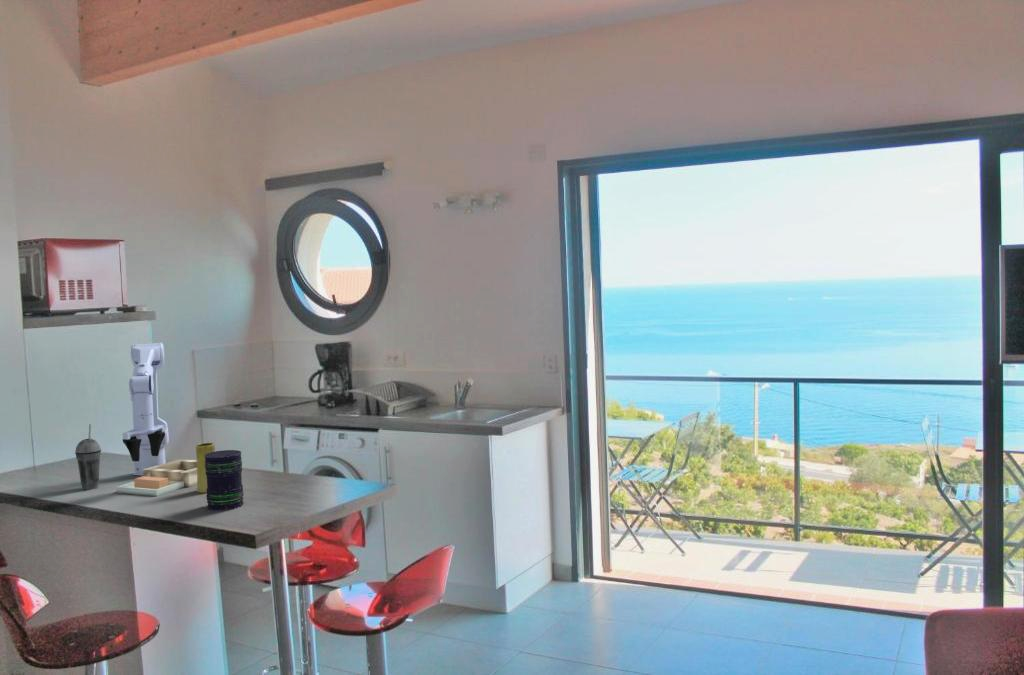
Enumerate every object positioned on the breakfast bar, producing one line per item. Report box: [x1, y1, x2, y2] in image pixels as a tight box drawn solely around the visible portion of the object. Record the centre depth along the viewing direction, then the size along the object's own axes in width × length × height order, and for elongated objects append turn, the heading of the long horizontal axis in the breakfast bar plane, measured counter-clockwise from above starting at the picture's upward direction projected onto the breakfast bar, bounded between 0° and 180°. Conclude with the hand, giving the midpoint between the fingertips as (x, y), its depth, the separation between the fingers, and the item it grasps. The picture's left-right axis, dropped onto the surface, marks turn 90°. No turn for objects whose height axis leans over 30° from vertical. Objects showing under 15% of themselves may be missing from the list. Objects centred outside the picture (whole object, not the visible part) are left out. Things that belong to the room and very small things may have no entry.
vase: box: [195, 442, 216, 494], centre depth 242 cm, size 6×6×14 cm
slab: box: [133, 476, 168, 489], centre depth 245 cm, size 10×4×3 cm, turn 69°
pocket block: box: [143, 458, 197, 488], centre depth 258 cm, size 18×16×4 cm
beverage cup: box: [74, 424, 102, 491], centre depth 249 cm, size 7×7×20 cm
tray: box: [115, 480, 185, 497], centre depth 245 cm, size 16×11×2 cm
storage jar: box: [205, 449, 245, 512], centre depth 223 cm, size 10×10×15 cm
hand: (145, 458), depth 245 cm, fingers open, 7 cm apart
